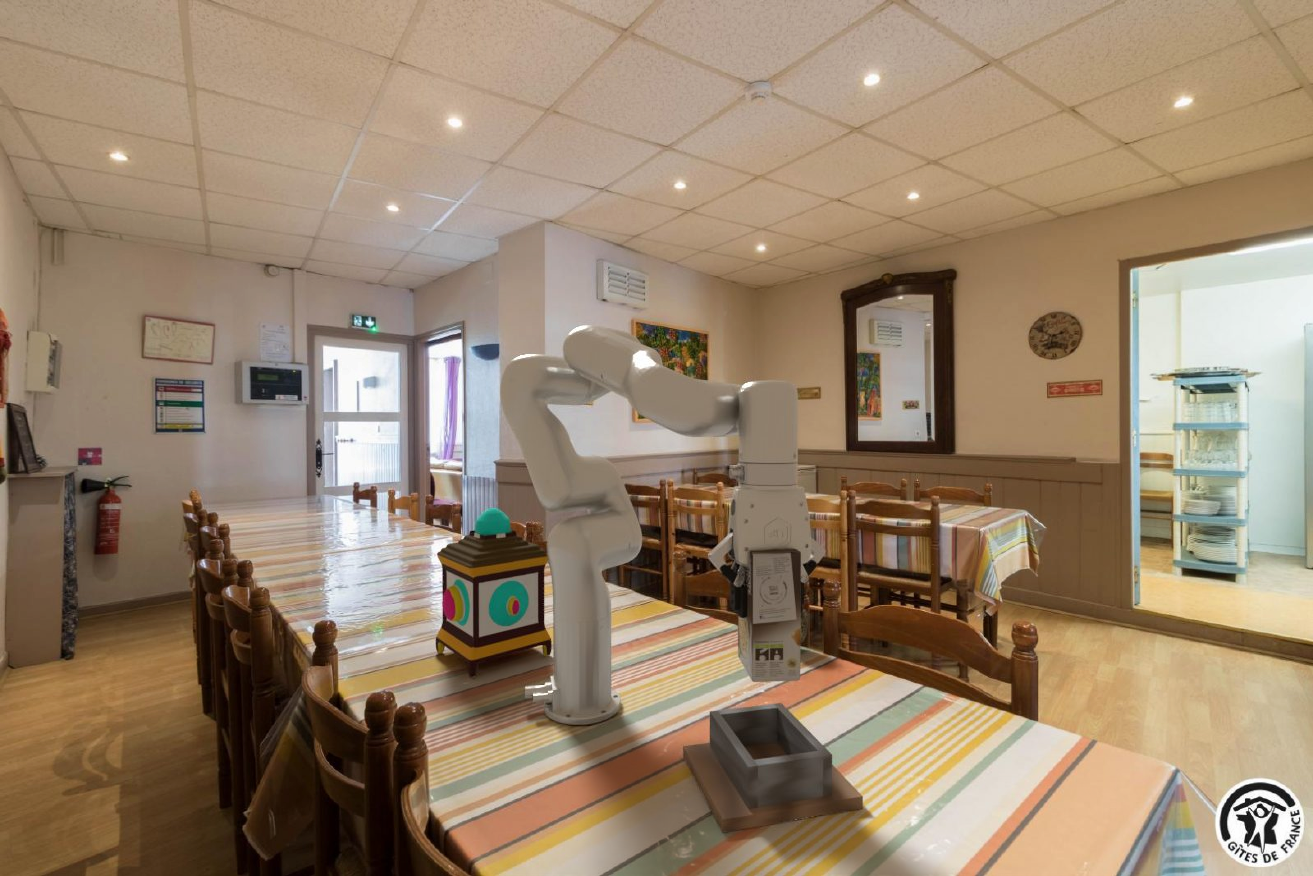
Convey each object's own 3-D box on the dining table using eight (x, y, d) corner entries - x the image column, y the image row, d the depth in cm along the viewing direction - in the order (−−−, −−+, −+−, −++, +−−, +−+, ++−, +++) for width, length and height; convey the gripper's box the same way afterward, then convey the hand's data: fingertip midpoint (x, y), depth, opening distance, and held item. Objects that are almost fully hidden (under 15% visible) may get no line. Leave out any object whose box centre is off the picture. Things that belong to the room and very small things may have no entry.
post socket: (722, 832, 67) (722, 776, 67) (683, 756, 83) (683, 710, 83) (862, 808, 72) (863, 755, 71) (800, 740, 87) (800, 697, 87)
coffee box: (802, 681, 73) (803, 551, 72) (751, 683, 72) (752, 552, 72) (780, 653, 82) (781, 537, 81) (735, 654, 81) (735, 538, 81)
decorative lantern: (466, 684, 106) (465, 518, 105) (425, 653, 121) (425, 507, 120) (561, 656, 119) (561, 508, 119) (514, 631, 134) (514, 499, 134)
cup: (809, 658, 118) (809, 618, 118) (772, 655, 120) (772, 616, 120) (807, 644, 126) (807, 607, 126) (772, 642, 127) (772, 605, 127)
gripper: (714, 480, 71) (713, 627, 71) (843, 477, 75) (842, 616, 75) (695, 475, 78) (695, 609, 78) (814, 473, 82) (813, 600, 83)
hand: (767, 611), depth 77 cm, fingers closed on coffee box, 7 cm apart
